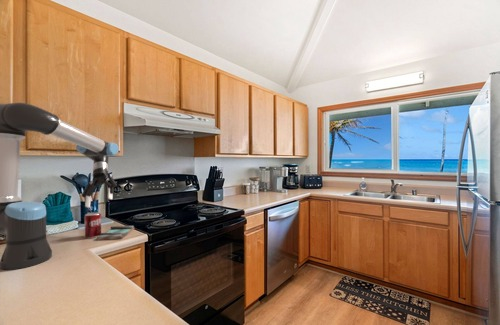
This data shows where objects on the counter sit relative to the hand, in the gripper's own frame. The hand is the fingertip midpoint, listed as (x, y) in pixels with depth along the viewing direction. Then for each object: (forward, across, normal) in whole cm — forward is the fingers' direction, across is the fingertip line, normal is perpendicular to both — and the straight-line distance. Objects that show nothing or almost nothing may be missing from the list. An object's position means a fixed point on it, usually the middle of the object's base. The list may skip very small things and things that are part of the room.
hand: (98, 203), depth 127 cm
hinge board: (+17, -4, -9) cm, 20 cm away
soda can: (+16, +6, -4) cm, 18 cm away
